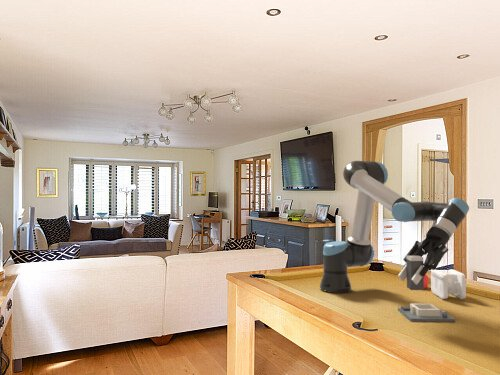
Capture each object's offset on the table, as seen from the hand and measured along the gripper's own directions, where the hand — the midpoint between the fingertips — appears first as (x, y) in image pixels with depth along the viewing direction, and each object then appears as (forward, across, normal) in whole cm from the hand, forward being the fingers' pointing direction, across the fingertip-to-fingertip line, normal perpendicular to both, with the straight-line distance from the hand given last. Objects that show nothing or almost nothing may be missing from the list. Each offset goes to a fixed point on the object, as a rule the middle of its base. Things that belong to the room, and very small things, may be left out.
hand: (407, 280), depth 137 cm
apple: (-23, +42, -46) cm, 66 cm away
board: (+1, +6, -21) cm, 22 cm away
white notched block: (-21, +23, -44) cm, 54 cm away
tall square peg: (0, 0, -5) cm, 5 cm away
